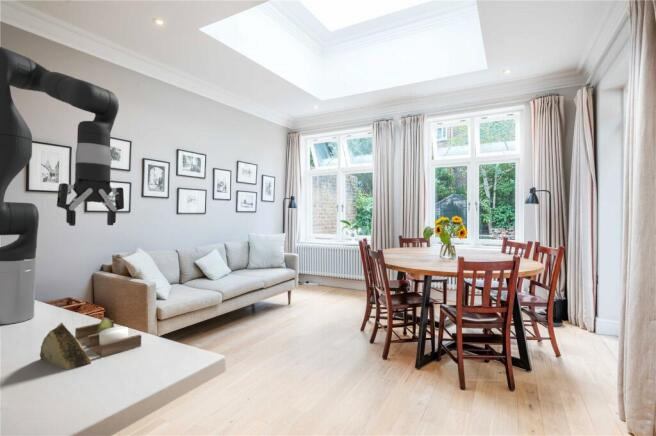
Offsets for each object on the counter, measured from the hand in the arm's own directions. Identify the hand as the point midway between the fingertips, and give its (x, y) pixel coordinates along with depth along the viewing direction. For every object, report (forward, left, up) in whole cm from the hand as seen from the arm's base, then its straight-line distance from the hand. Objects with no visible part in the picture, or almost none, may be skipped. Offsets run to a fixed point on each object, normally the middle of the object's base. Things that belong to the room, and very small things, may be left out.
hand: (91, 225), depth 87 cm
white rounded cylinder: (+17, 0, -27) cm, 32 cm away
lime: (+9, 0, -27) cm, 29 cm away
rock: (+17, -10, -28) cm, 35 cm away
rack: (+13, 0, -28) cm, 31 cm away
